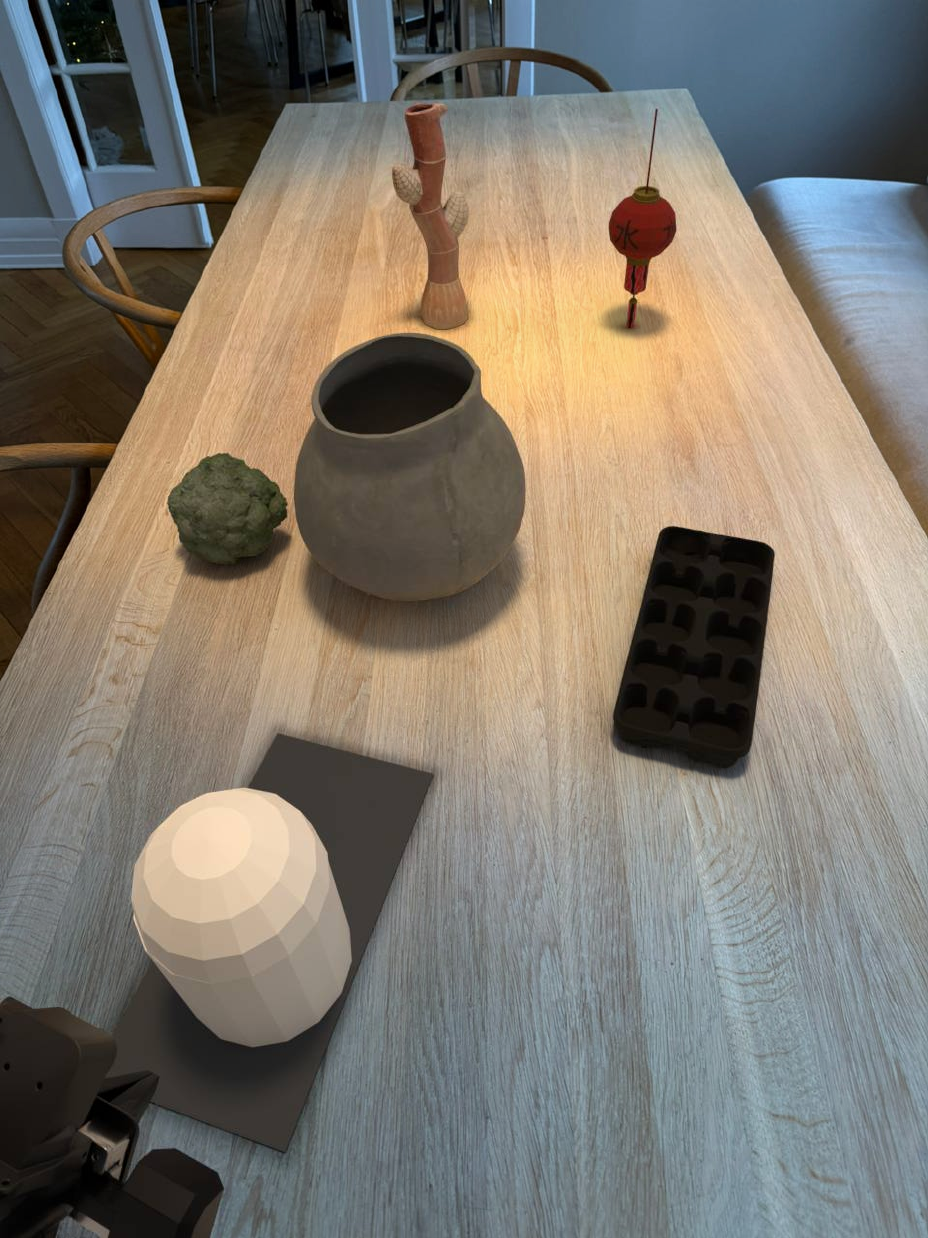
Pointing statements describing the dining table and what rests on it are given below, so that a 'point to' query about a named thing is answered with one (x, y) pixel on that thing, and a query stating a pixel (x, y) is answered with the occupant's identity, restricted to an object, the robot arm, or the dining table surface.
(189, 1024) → the plate
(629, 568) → the dining table surface
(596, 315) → the dining table surface
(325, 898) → the container
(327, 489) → the ceramic pot
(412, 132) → the vase
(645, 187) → the lantern
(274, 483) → the vegetable
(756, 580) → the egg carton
